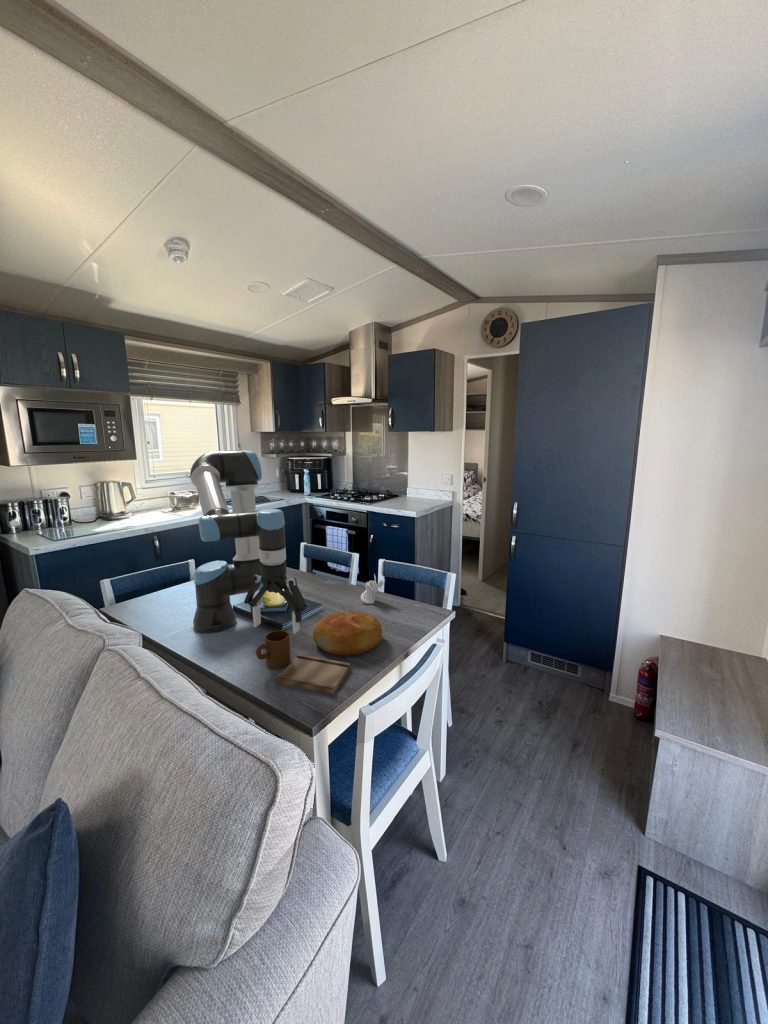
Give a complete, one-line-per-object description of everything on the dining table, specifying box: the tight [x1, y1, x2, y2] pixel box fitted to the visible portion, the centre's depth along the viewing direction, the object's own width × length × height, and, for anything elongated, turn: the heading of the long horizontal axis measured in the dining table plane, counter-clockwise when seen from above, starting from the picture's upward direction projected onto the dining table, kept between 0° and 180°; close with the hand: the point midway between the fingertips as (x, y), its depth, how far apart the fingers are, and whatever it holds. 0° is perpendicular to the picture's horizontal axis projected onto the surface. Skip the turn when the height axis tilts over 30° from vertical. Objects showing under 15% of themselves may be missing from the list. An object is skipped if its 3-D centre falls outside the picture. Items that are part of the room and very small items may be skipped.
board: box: [275, 653, 351, 695], centre depth 128 cm, size 18×13×2 cm
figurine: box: [360, 573, 386, 605], centre depth 181 cm, size 11×8×12 cm
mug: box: [255, 630, 291, 670], centre depth 133 cm, size 12×8×9 cm, turn 145°
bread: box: [312, 610, 383, 656], centre depth 147 cm, size 23×23×10 cm
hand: (276, 628), depth 130 cm, fingers open, 13 cm apart
